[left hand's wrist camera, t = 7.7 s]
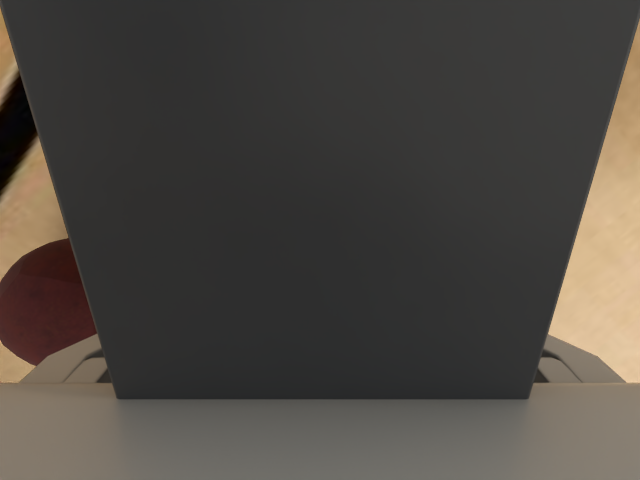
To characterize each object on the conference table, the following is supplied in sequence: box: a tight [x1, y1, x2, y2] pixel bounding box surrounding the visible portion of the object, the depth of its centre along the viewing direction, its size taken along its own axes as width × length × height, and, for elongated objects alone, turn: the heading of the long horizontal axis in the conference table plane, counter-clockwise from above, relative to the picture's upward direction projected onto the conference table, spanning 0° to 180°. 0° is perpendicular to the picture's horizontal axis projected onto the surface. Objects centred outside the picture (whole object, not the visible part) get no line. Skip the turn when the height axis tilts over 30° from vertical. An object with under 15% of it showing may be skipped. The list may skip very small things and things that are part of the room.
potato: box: [0, 238, 97, 366], centre depth 20 cm, size 7×8×7 cm
